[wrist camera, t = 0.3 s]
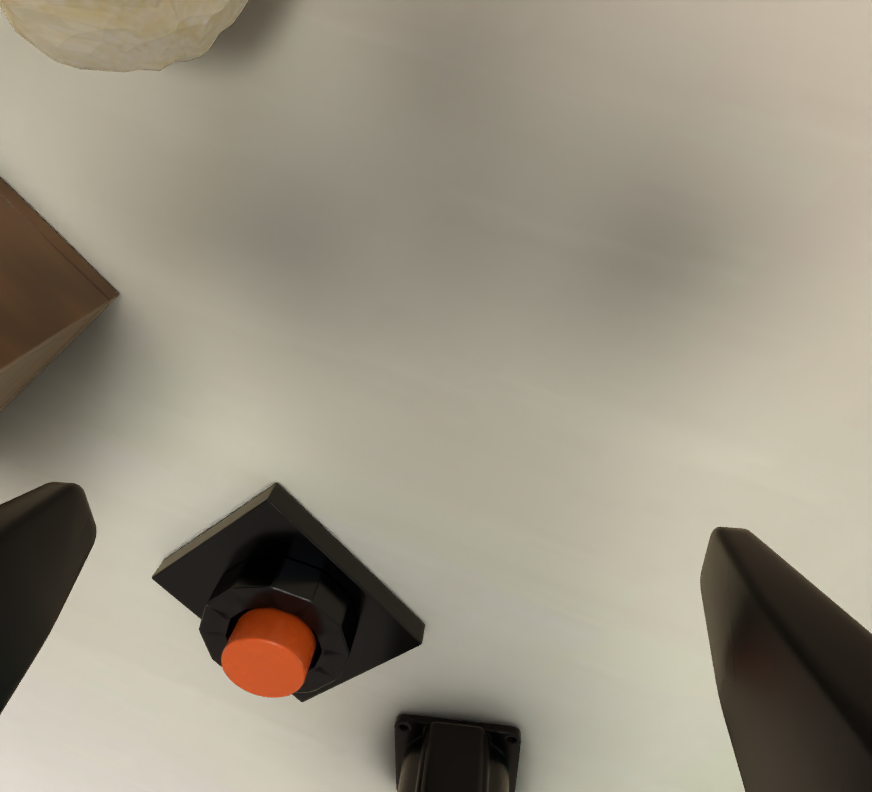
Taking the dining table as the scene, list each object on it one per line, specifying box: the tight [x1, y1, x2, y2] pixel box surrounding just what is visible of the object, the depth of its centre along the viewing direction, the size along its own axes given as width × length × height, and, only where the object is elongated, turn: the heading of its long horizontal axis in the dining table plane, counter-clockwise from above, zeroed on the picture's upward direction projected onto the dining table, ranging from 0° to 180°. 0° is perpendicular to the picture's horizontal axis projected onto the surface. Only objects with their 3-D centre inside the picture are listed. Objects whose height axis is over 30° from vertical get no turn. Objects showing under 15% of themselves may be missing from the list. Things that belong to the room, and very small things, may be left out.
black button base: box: [152, 483, 425, 702], centre depth 30 cm, size 10×8×3 cm
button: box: [221, 608, 316, 698], centre depth 28 cm, size 4×4×2 cm
